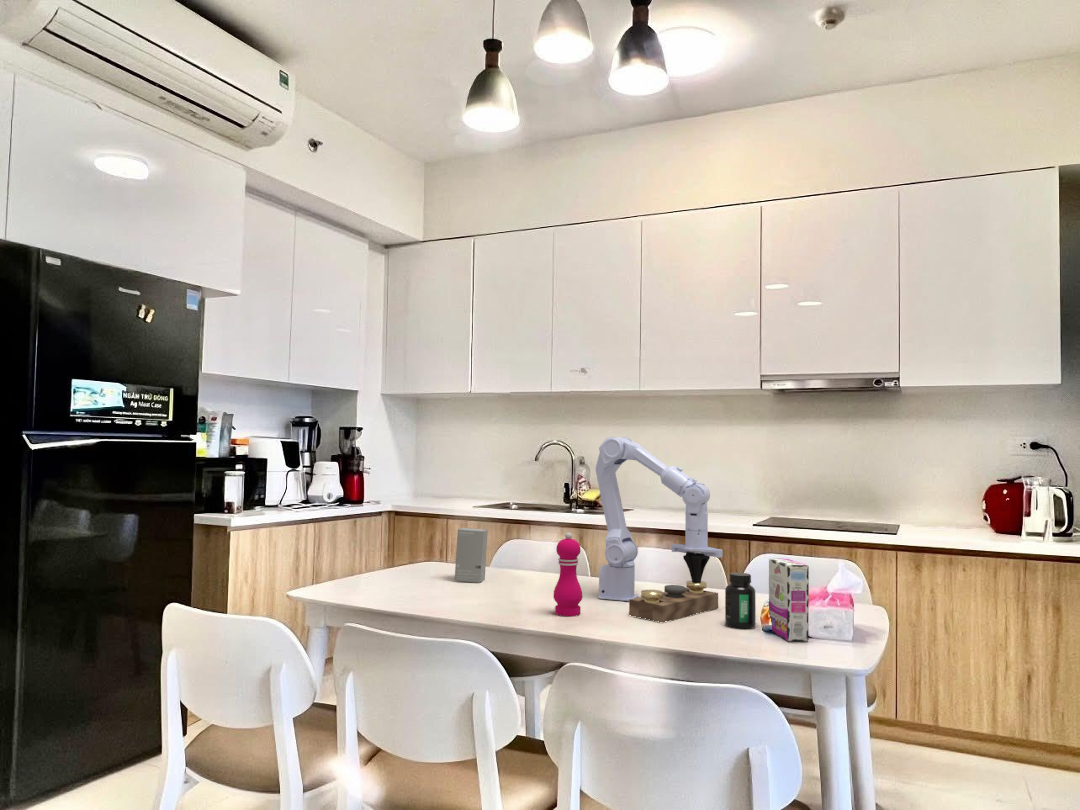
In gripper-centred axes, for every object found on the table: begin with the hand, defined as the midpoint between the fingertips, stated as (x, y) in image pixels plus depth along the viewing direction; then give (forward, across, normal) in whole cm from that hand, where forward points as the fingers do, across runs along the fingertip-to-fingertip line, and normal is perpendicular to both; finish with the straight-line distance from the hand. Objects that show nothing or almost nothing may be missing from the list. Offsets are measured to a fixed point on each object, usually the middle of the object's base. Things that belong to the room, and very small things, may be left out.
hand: (696, 582), depth 196 cm
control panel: (+6, 0, -10) cm, 11 cm away
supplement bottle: (+6, +19, -10) cm, 22 cm away
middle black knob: (+5, 0, -9) cm, 11 cm away
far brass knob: (+5, 0, 0) cm, 5 cm away
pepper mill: (+6, -17, -31) cm, 36 cm away
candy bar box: (+7, +31, -10) cm, 33 cm away
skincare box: (+6, -67, -21) cm, 71 cm away
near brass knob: (+5, 0, -19) cm, 20 cm away
